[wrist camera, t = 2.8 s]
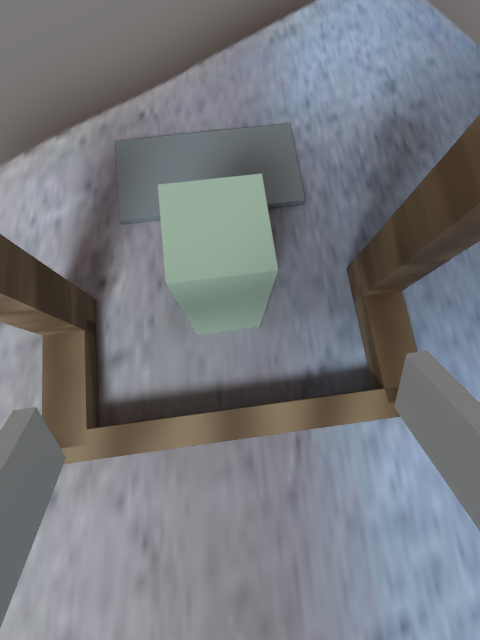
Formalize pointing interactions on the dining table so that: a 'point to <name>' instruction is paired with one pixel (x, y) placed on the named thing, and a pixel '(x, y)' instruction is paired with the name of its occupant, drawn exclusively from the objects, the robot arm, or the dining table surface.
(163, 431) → the frame
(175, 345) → the dining table surface
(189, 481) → the dining table surface
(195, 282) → the tall green square pillar
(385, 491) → the dining table surface
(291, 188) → the mat
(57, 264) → the dining table surface
